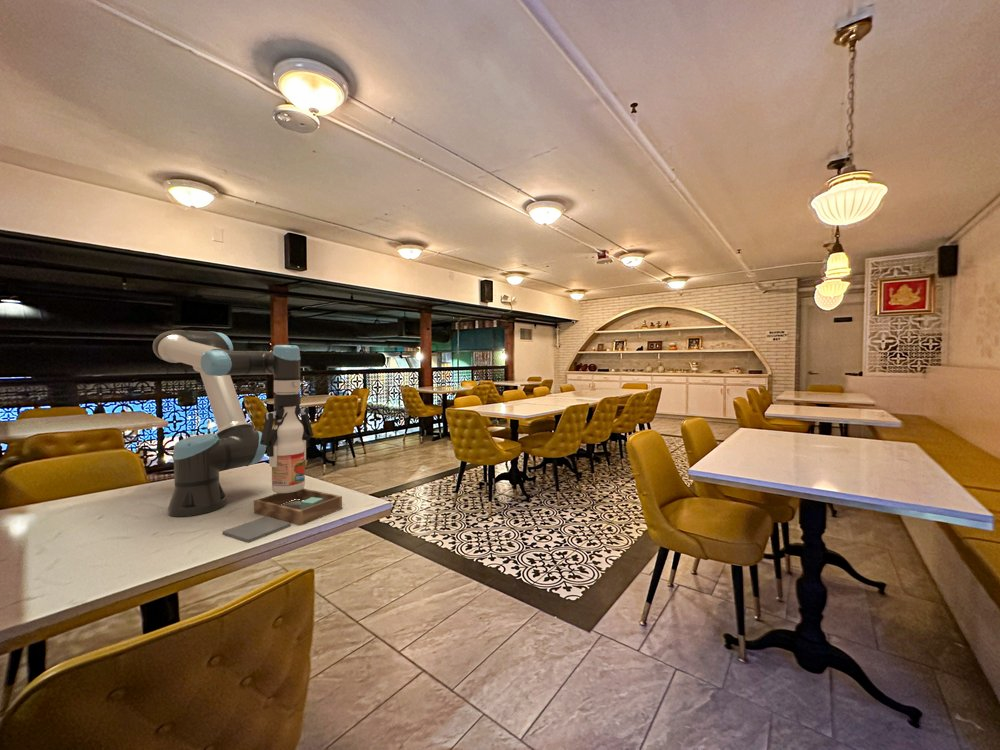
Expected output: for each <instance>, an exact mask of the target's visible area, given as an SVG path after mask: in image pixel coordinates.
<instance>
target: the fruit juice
mask: <svg viewBox="0 0 1000 750" xmlns="http://www.w3.org/2000/svg"><path fill="white" fill-rule="evenodd" d="M295 408H296V406H289V407H284V414H283V417H284V415H285V414H286V413H287V412H288V413H287V415H286V417H285V418H284V421H283V423H282V425H280V426H279V428H278V425H276V426H275V427H274V425H275V424H274V423H273V426H272V429H273V427H274V430H276V429H277V428H278V431H277V435H278V438H277V440H276V442H275V444H274V446H277V467H271V489H272V492H273V493H274V494H277V493H291V492H296V491H299V490H301V489H303V488H304V489H305V484H306V481H305V477H306V475H305V473H306V470H305V468H306V466H305V462H306V461H305V458H304V442H303V440H302V436H303V432H304V428H303V424H302V421H301V422H300V421H299V420H298V419H297V416H296V414H295ZM281 421H282V419H281V420H278V421H277V422H281Z"/></svg>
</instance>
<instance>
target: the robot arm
mask: <svg viewBox="0 0 1000 750" xmlns="http://www.w3.org/2000/svg"><path fill="white" fill-rule="evenodd" d="M152 350H153V353H154V354H155V356H156V357H157V358H159V359H160V360H163V361H165V362H168V363H174V364H177V363H182V364H185V365H189V366H192V369H193V370H194V371H195V372H198V373H199V374H200V377H201V380H202V383H203V386H204V389H205V393H206V395H207V398H208V401H209V404H210V407H211V411H212V413H213V417H214V419H215V423H216V425H217V428H218V429H217V430H218V431H216V433H205V434H198V435H193V436H189V437H186V438H183V439H181V440H179V441H177V442H175V444H174V446H173V454H172V459H173V477H174V480H173V481H174V490H173V492H172V495H171V498H170V500H169V504H168V506H167V507H168V509H167V510H168V512H167V513H168V515H169V516H171V517H179V518H180V517H191V516H198V515H202V514H207V513H210V512H214V511H218V510H220V509H221V508H223V507H225V506H226V505H227V496H226V494H225V490H224V489H223V487H222V484H221V483H220V473H221V472H224V471H229V470H233V469H237V468H242V467H249V466H250V465H254V464H257V463H259V462H260V461H261V460H262V459H263V458H264V456H265V453H266V456H267V457H268V460H269V462H268V463H269V467H271V468H272V467H277V446H274V444H275V442H276V440H277V438H278V435H277V431H278V428H279V426H280V425H282V423H283V421H284V418H285V417H286V415H287V413H288V412H287V413H286V414H285V415H284V417H283V414H284V407H289V406H296V408H295V414H296V416H297V419H298V420H299V421H300V422H301V424H302V425H303V428H304V432H303V436H302V440H303V442H304V458H305V460H307V449H308V444H309V443H308V441H310V440H311V438H312V437H313V436H314V433H313V429H312V425H311V420H310V416H309V412H310V409H309V408H304V407H302V408H301V406H300V405H301V401H302V400H301V398H302V397H301V393H300V392H301V351H300V347H299V346H298V345H294V344H293V345H292V344H275V345H274V346H273V350H272V351H267V350H259V351H258V350H257V351H256V350H234V345H233V343H232V340H231V339H230V338H229V336H227V335H226V334H224V333H222V332H216V331H210V330H209V331H201V330H197V331H196V330H183V329H173V330H168V331H165V332H164V331H163V332H162V333H160V334H158V336H156V338H155V339H154V340H153V343H152ZM242 375H243V376H244V375H245V376H249V375H273V393H275V394H274V395H273V406H274V410H273V411H271V412H264V423H263V429H262V431H260V430H255V428H254V425H253V424H252V423H249V422H247V420H246V416H245V414H244V411H243V408H242V405H241V402H240V400H239V397H238V394H237V391H236V389H235V386H234V382H233V380H232V376H242ZM299 415H300V417H299ZM300 418H301V419H300ZM274 419H275V420H274ZM281 419H282V421H281V422H277V421H278V420H281ZM274 424H275V425H274ZM276 425H278V428H277V429H276V430H274V427H275V426H276ZM273 426H274V427H273ZM272 428H273V429H272Z"/></svg>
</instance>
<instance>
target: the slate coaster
mask: <svg viewBox="0 0 1000 750" xmlns="http://www.w3.org/2000/svg"><path fill="white" fill-rule="evenodd" d="M291 526H292V523H289V522H286V521H282V520H278V519H275V518H271V517H267V516H262V517H260V518H257V519H254V520H250V521H248V522H244V523H242V524H239V525H237V526H234V527H231V528H228V529H225V530H222V535H224V536H228V537H229V538H233V539H235V540H236V539H237V540H239V541H243V542H245V543H252V542H254V541H257V540H259V539H262V538H265V537H267V536H270V535H272V534H274V533H277V532H279V531H282V530H285V529H287V528H289V527H291Z"/></svg>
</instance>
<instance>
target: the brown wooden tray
mask: <svg viewBox="0 0 1000 750" xmlns="http://www.w3.org/2000/svg"><path fill="white" fill-rule="evenodd" d="M311 497H315V498H323V502H321V503H318V504H316V505H313V506H310V507H307V508H305V509H302V510H301V509H299V508H295V507H289V506H285V505H284V504H283V503H286V502H289V501H291V500H294V499H300V500H306V499H309V498H311ZM289 503H290V502H289ZM281 504H283V505H281ZM286 504H287V503H286ZM341 508H342V509H343V496H342V495H337V494H333V493H329V492H328V493H327V492H322V491H317V490H313V489H308V488H305V487H304V488H303V489H301V490H299V491H296V492H291V493H274V494H271V495H268V496H264V497H261V498H257V499H254V500H253V513H254V514H256V515H261V516H262V517H265V516H266V517H269V518H273V519H277V520H280V521H284V522H288V523H291V524H295V525H298V526H302V525H305V524H307V523H310V522H311V521H315V520H318V519H320V518H322V517H324V516H323V515H325V516H327V515H329V514H328V513H330V514H332V513H335V512H337V511H339V510H338V509H340V510H342V509H341ZM336 510H337V511H336ZM334 511H335V512H334ZM331 512H332V513H331ZM326 514H327V515H326ZM319 517H320V518H319Z"/></svg>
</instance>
